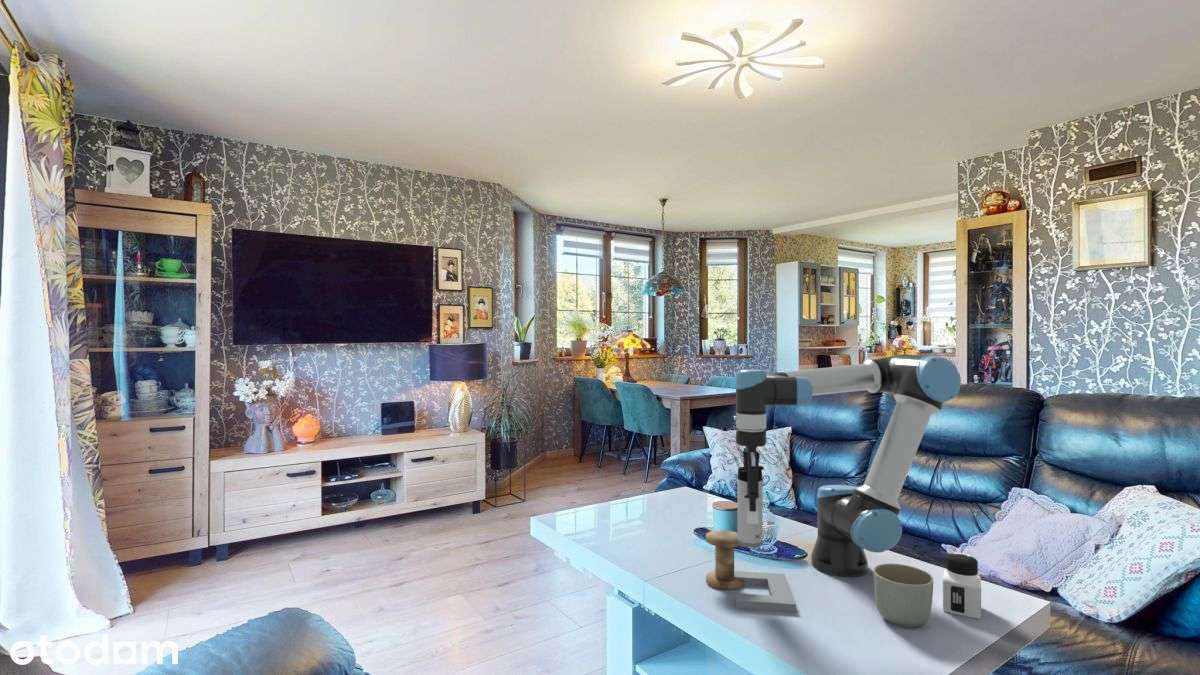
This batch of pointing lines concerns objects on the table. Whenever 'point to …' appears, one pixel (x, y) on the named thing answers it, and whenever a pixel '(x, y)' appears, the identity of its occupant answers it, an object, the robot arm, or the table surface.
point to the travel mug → (746, 532)
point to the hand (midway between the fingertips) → (750, 518)
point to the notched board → (775, 601)
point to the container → (962, 586)
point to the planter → (903, 594)
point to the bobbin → (723, 560)
